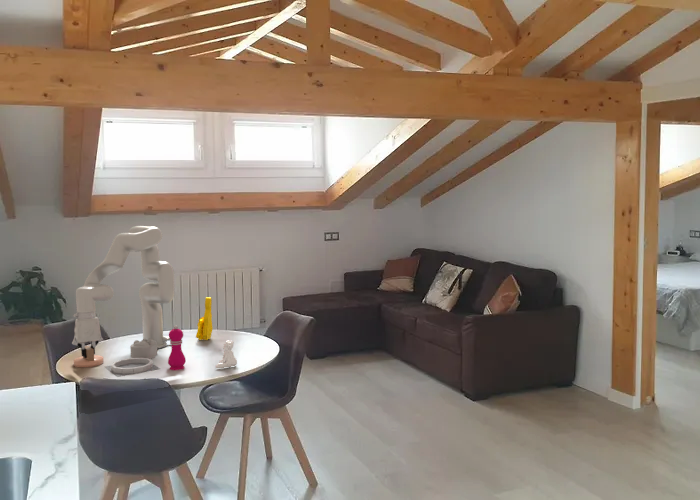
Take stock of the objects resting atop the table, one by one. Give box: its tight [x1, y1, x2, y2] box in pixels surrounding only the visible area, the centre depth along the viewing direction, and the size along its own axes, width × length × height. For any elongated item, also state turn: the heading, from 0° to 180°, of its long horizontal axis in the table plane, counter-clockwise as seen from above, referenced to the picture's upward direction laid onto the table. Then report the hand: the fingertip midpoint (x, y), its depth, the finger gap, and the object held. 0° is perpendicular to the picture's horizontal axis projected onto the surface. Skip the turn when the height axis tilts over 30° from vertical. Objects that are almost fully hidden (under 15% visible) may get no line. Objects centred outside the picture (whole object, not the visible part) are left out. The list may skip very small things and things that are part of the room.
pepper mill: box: [167, 324, 187, 371], centre depth 265 cm, size 7×7×20 cm
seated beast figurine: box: [215, 339, 238, 369], centre depth 272 cm, size 10×9×12 cm
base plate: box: [104, 357, 161, 378], centre depth 266 cm, size 18×18×4 cm
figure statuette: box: [195, 296, 214, 341], centre depth 319 cm, size 18×8×22 cm, turn 176°
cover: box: [73, 345, 104, 368], centre depth 272 cm, size 12×12×7 cm
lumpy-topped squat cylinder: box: [130, 338, 158, 360], centre depth 285 cm, size 10×13×9 cm
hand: (88, 356), depth 272 cm, fingers closed on cover, 2 cm apart
